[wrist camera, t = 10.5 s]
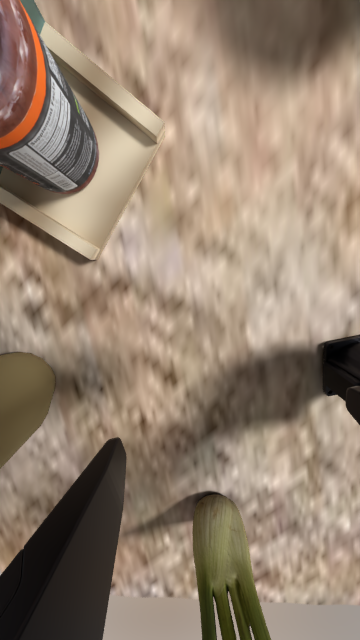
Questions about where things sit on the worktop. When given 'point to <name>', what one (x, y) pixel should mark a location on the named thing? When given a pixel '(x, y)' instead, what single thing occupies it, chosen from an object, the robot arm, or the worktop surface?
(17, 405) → the squeeze bottle
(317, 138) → the worktop surface
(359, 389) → the robot arm
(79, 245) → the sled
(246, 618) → the fennel bulb
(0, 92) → the supplement bottle
